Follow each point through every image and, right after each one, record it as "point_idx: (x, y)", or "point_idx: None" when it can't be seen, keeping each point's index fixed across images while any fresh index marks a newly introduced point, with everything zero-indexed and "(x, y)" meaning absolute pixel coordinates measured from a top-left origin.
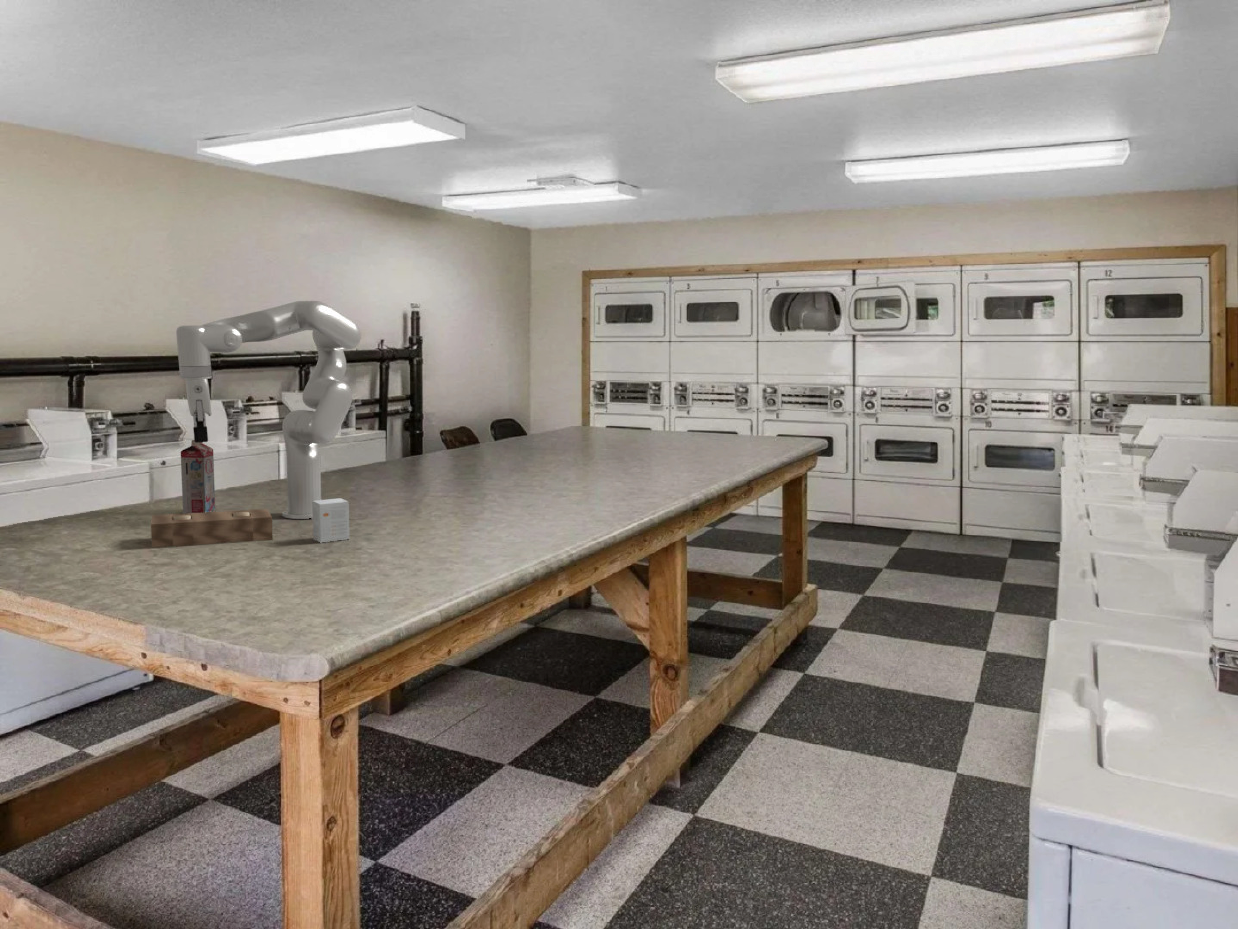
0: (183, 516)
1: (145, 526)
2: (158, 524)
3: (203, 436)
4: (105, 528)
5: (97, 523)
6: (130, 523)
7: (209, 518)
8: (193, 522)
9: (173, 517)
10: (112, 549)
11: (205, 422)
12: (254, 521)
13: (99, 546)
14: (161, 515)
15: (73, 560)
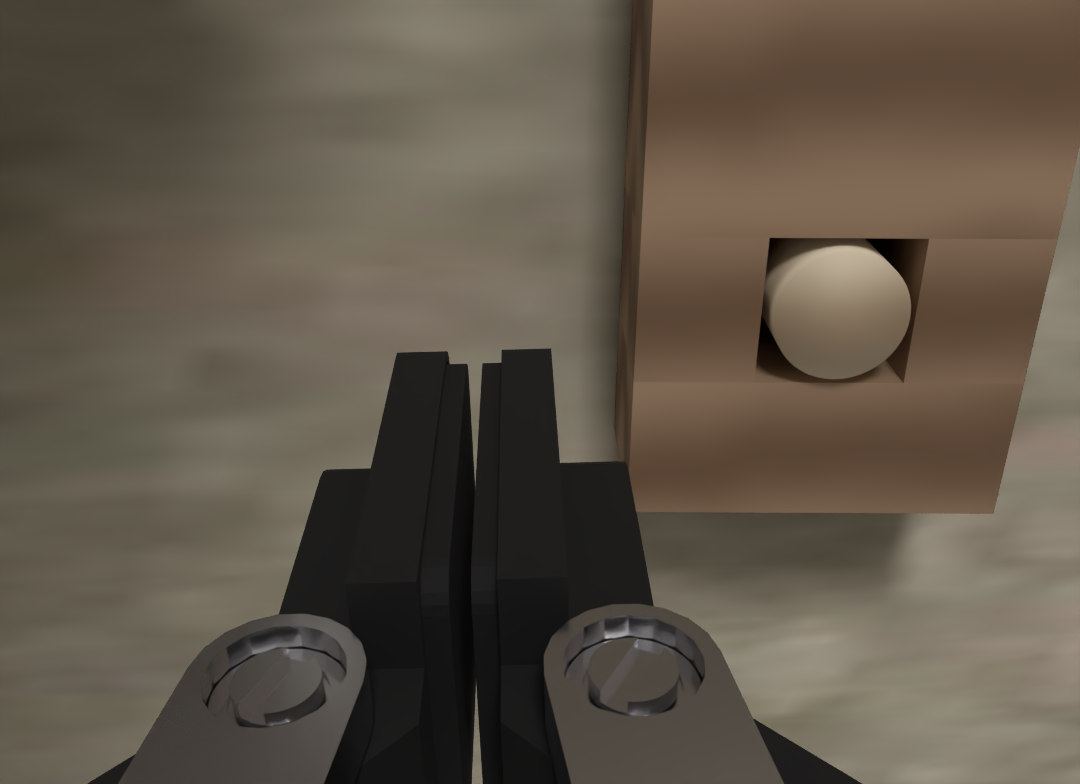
0: (840, 307)
1: (188, 468)
2: (1003, 468)
3: (632, 504)
4: None
5: (33, 704)
6: (62, 549)
7: (970, 97)
8: (1056, 232)
9: (843, 378)
10: (847, 609)
11: (757, 755)
12: None
13: (732, 666)
14: (652, 451)
15: (1022, 744)
